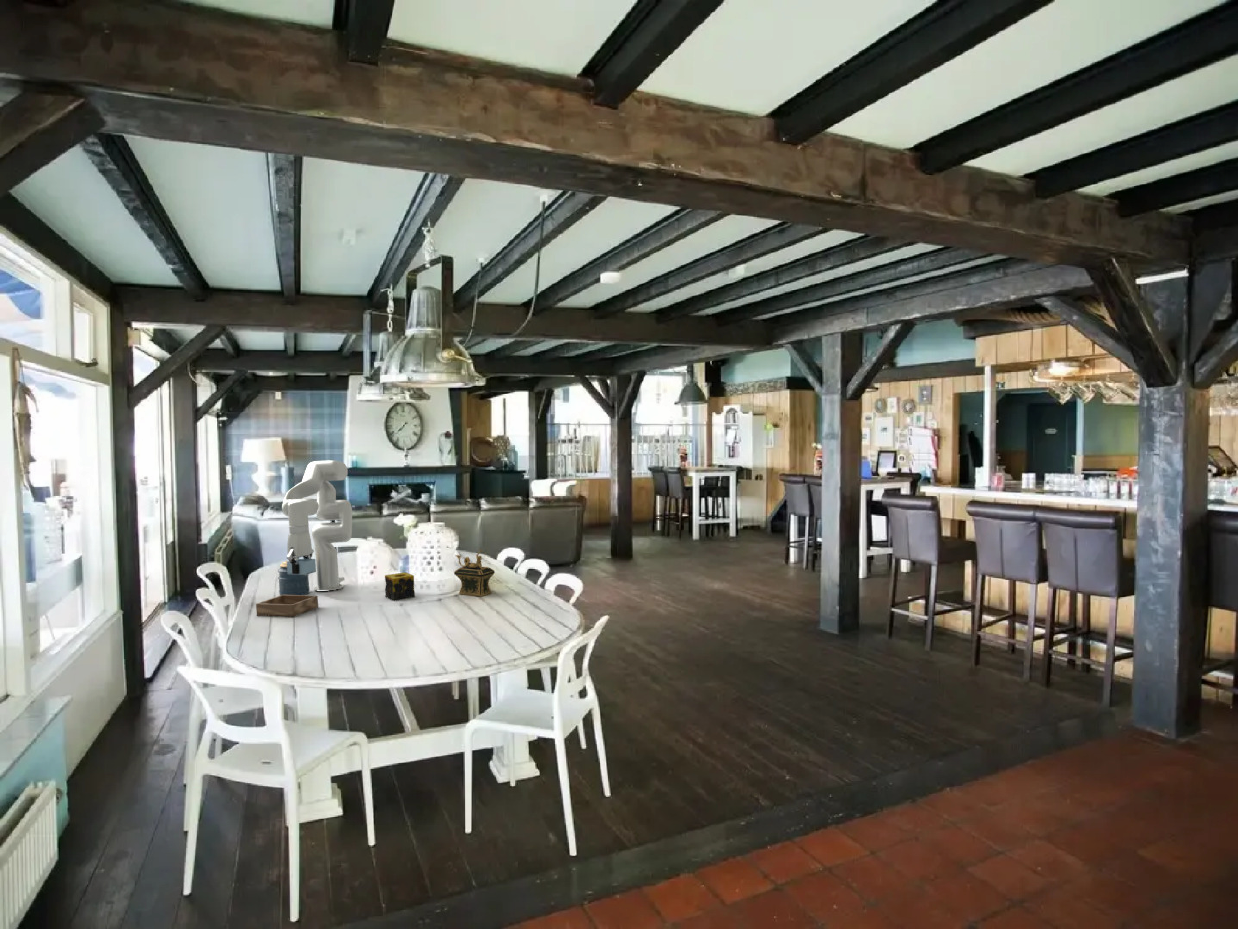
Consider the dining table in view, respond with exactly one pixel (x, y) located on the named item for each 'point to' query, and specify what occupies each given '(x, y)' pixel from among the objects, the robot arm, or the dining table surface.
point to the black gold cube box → (399, 586)
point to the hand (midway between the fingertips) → (301, 571)
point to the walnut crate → (287, 605)
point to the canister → (292, 582)
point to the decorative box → (474, 577)
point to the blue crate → (303, 567)
